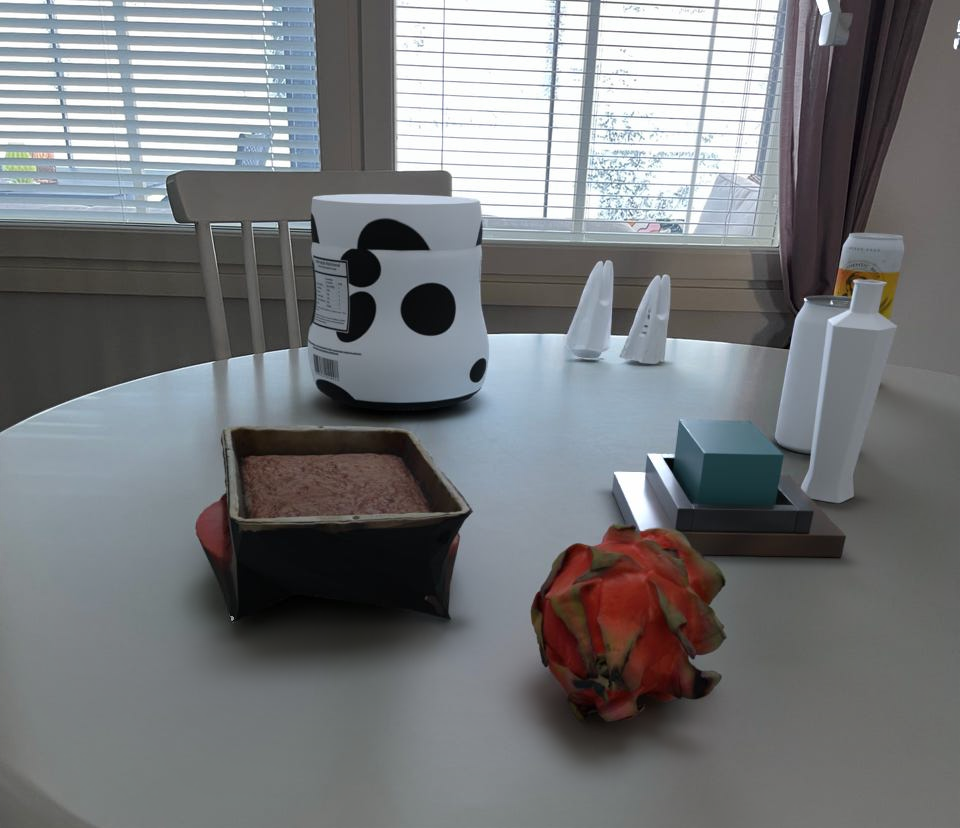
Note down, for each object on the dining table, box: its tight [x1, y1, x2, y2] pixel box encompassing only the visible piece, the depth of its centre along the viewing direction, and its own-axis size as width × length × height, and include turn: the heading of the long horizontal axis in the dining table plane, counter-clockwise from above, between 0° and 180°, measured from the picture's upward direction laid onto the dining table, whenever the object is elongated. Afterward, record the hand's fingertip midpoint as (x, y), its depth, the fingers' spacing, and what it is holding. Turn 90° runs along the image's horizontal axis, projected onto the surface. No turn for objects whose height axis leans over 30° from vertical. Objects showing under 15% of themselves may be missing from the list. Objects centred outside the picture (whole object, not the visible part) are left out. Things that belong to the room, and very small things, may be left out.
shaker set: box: [563, 259, 672, 365], centre depth 109 cm, size 12×4×11 cm, turn 82°
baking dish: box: [194, 424, 474, 623], centre depth 52 cm, size 14×18×10 cm
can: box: [774, 295, 852, 455], centre depth 79 cm, size 6×6×12 cm
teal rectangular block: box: [673, 418, 785, 505], centre depth 63 cm, size 5×8×4 cm, turn 0°
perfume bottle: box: [800, 280, 898, 504], centre depth 66 cm, size 5×4×15 cm
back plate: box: [612, 453, 847, 558], centre depth 64 cm, size 13×12×3 cm
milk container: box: [307, 193, 490, 412], centre depth 88 cm, size 17×17×18 cm
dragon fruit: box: [530, 523, 727, 724], centre depth 42 cm, size 8×8×12 cm
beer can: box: [833, 232, 906, 321], centre depth 101 cm, size 6×6×15 cm
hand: (900, 47), depth 64 cm, fingers open, 8 cm apart
